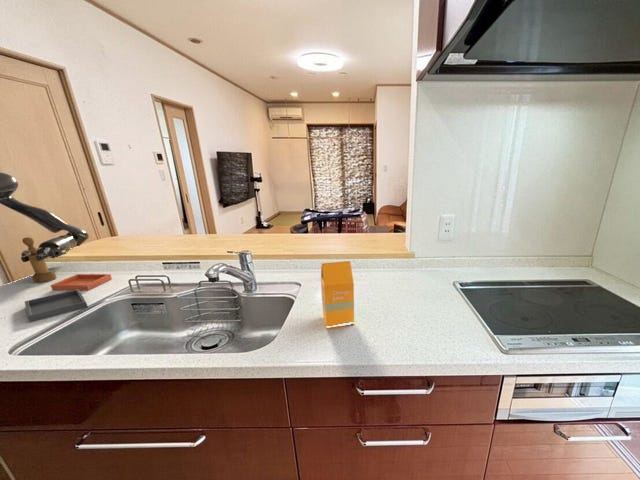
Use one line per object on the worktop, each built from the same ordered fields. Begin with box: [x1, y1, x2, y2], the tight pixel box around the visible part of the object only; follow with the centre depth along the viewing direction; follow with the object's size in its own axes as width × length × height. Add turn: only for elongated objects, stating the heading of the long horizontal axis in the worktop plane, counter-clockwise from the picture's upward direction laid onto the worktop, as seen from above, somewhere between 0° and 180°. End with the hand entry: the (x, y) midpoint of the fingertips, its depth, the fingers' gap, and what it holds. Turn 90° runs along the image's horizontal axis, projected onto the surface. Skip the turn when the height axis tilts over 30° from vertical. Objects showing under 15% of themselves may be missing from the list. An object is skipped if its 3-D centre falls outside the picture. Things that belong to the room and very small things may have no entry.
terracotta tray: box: [49, 273, 113, 291], centre depth 119 cm, size 14×12×2 cm
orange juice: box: [320, 260, 355, 330], centre depth 91 cm, size 8×9×20 cm
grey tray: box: [24, 289, 89, 323], centre depth 101 cm, size 16×14×2 cm
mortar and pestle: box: [21, 236, 57, 284], centre depth 119 cm, size 7×6×18 cm
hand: (30, 259), depth 116 cm, fingers closed on mortar and pestle, 4 cm apart
